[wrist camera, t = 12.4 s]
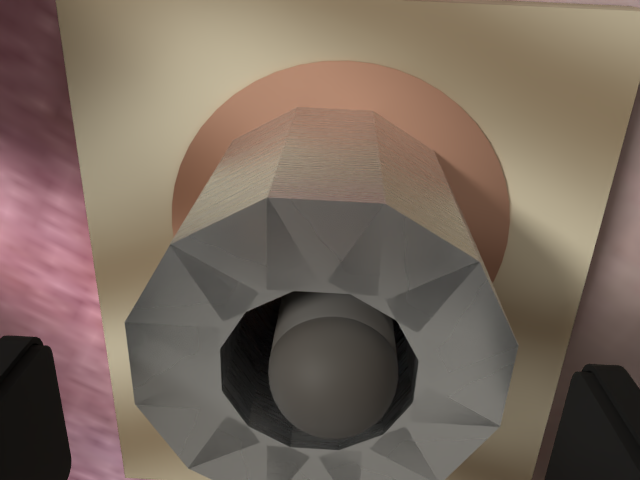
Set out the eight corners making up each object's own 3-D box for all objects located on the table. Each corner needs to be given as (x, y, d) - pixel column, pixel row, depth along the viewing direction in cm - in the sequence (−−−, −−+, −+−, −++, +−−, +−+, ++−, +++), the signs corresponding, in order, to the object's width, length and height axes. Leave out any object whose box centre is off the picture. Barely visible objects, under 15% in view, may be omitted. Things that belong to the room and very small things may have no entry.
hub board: (514, 469, 22) (604, 755, 14) (138, 445, 22) (25, 712, 15) (630, 6, 15) (937, 69, 7) (79, -19, 15) (-204, 15, 7)
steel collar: (440, 347, 18) (479, 520, 12) (207, 333, 18) (146, 498, 13) (476, 115, 15) (549, 211, 9) (194, 101, 15) (107, 188, 10)
